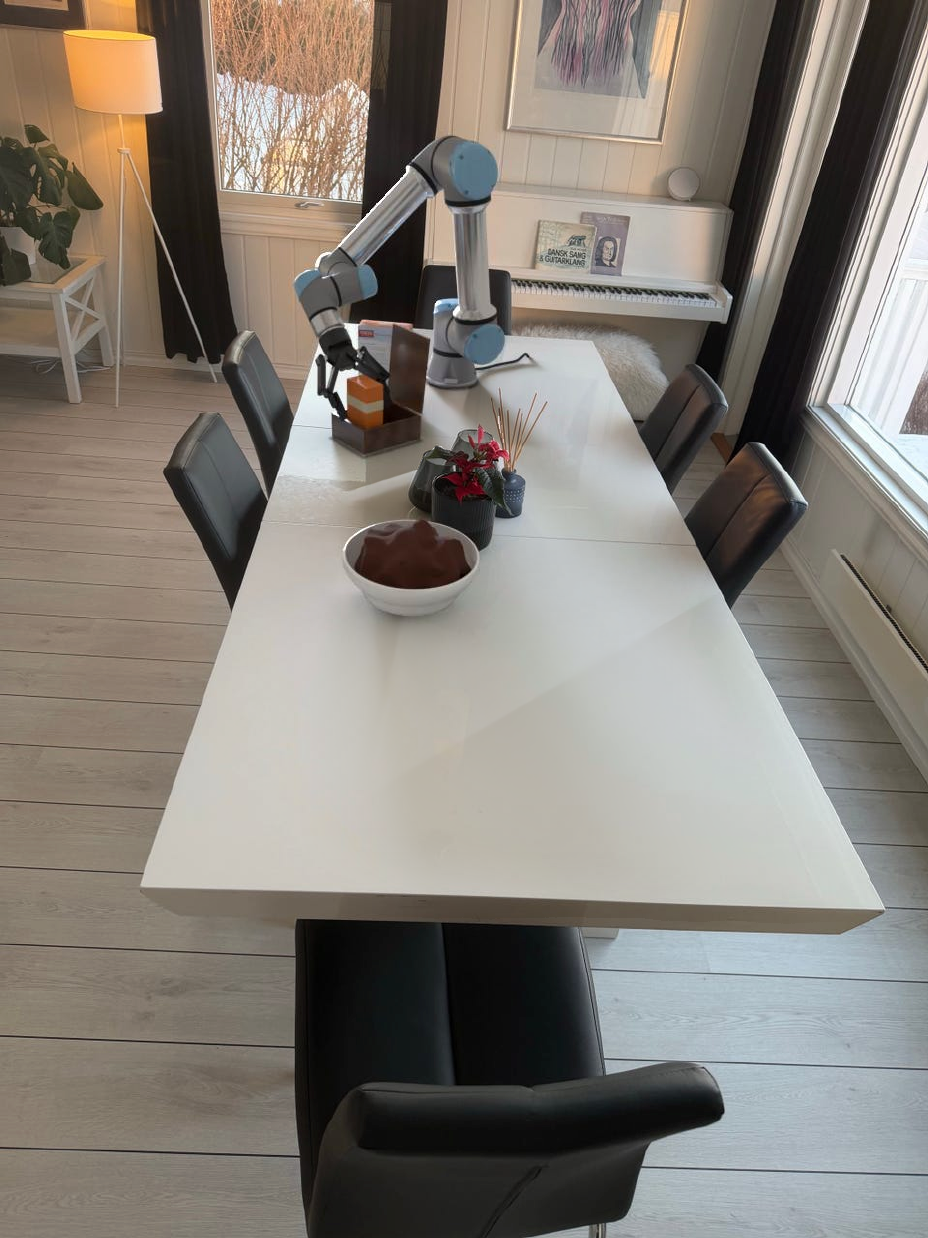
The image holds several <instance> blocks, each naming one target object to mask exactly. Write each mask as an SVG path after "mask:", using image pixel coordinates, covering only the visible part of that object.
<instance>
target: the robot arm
mask: <svg viewBox="0 0 928 1238" xmlns="http://www.w3.org/2000/svg"><path fill="white" fill-rule="evenodd" d="M498 177H499V168H498V163H497V160H496V158H495V156H494V153H492V152H491V150H489V148H487V147H486V146H484V145H483V144H481V143H480V142H477V141H475V140H468V139H466V138H463V137H460V136H457V135H452V134H450V135H449V134H448V135H443V136H441V137H439V138H436V139H435V140H433V141H432V142H431V143H429V144H428V145H427V146H426V147H425V148H424V149H422V151H420V152H419V153H418V154H417V155H416V156H415V157H414V159H412V160H411V162H409V164H408V165H407V166H406V173H405V174H404V175H403V177H401V178H400V180H399V181H398V182H397V183H396V184H395V185H394V186H393V187H392V188H391V189H390V190H389V191H388V192H387V193H386V194H385V196H384V197H383V198H382V199H381V200H380V201H379V202H378V203H376V205H375V206H374V207H373V208H372V209H371V210H370V212H369V213H367V214H366V216H365V217H364V218H363V219H362V220H361V221H360V222H359V223H358V224H357V225H356V227H355V228H354V229H353V230H352V231H351V232H350V233H349V234H348V235H347V236H346V237H345V238H344V239H343V240H342V242H341V243H339V244H338V246H337V247H336V248H335V249H334V250H333V251H332V252H325V253H322V254H321V255H320V256H318V258H317V259H316V261H315V264H314V265H315V266H314V269H308V270H305V271H303V272H302V273H299V274H298V275H297V276H296V278H294V281H293V289H294V291H295V293H296V295H297V300H298V302H299V303H300V305H301V307H302V309H303V311H304V313H305V316H306V318H307V320H308V321H309V325H310V326H311V329H312V331H313V333H314V335H315V338H316V339H317V340H318V345H319V347H320V348H321V351H322V353H323V354H322V353H319V354H318V355H317V356H316V358H315V360H314V361H315V364H316V367H317V368H316V369H317V370H316V371H317V372H316V373H317V374H316V375H317V377H316V378H317V379H316V380H317V381H316V383H317V386H316V387H317V392H316V393H317V394H316V395H317V396H319V397H321V396H323V398H324V399H326V400H327V401H328V403H329V405H330V406H331V407H330V408H332V409H333V410H334V409H335V412H336V411H337V414H338V416H339V418H340V420H341V422H343V421H344V420H345V419H346V418H347V417H348V414H347V412H346V410H345V409H346V408H345V405H344V404H343V401H342V400H341V397H340V395H339V392H338V391H334V390H335V386H336V383H337V381H338V380H337V379H338V376H339V372H341V373H342V372H344V371H351V370H354V371H357V372H358V371H359V372H360V373H362V374H363V375H365V376H367V377H369V378H371V379H373V380H375V381H377V382H379V383H381V384H383V403H384V406H385V408H386V410H389V409H390V408H391V407H392V406H393V405H394V404H393V402H392V400H391V397H390V395H389V394H390V390H389V388H388V386H387V383H386V380H387V379H388V378H389V377H390V374H389V373H388V372H387V371H386V370H385V369H384V368H383V367H382V366H381V365H380V364H379V363H378V362H377V361H376V360H375V359H374V358H373V357H372V356H371V354H370V353H369V352H368V350H367V349H366V347H365V346H362V347H361V348H359V349H358V348H357V349H356V348H355V347H354V346H353V340H352V338H351V336H350V333H349V332H348V330H347V328H345V327H346V325H345V323H344V320H343V319H342V316H341V315H340V312H339V310H338V308H341V307H344V306H347V305H350V304H353V303H357V302H360V301H363V300H366V299H369V298H371V297H374V296H375V295H376V294H377V293H378V288H379V287H378V280H377V278H376V277H377V276H376V275H375V272H374V270H373V268H372V267H371V266H370V265H368V264H366V262H367V261H368V260H369V259H370V258H371V257H372V256H373V255H374V254H375V253H376V252H377V251H378V250H379V249H380V248H381V247H382V246H383V245H384V244H385V243H386V242H387V240H388V239H389V238H391V236H392V235H393V234H394V233H395V232H396V231H397V230H398V229H399V228H400V227H401V226H402V225H403V224H404V223H405V222H406V220H408V219H409V217H411V215H412V214H413V213H414V212H415V211H417V209H418V208H419V207H420V206H421V205H422V204H423V203H424V202H425V201H426V200H427V199H434V198H435V196H436V195H437V194H438V193H439V192H441V191H442V190H443V199H444V205H445V207H447V209H449V211H450V212H451V222H452V223H451V224H452V225H451V226H452V238H453V250H454V252H453V253H454V264H455V275H456V287H457V288H456V289H457V298H444V299H443V298H442V299H439V300H437V301H436V303H435V304H434V308H433V309H434V310H433V330H432V331H433V332H432V353H431V355H430V359H429V361H428V367H427V376H426V383H428V384H430V385H432V386H435V387H438V388H443V389H448V390H449V389H450V390H459V389H467V388H470V387H471V388H472V387H473V386H475V385H476V383H477V381H478V373H477V371H484V370H490V369H493V368H496V367H501V366H506V365H512V364H515V363H518V362H520V361H521V360H522V359H523V358H524V357H526V358H530V357H531V356H530V354H528V353H527V352H523V353H522V354H521V355H520V356H519V357H518V358H516V359H513V360H508V361H502V362H498V363H494V364H490V363H492V362H494V361H495V360H496V359H498V357H499V355H501V354H502V351H503V350H504V347H505V343H506V336H505V333H504V331H503V329H502V327H501V326H500V325H498V315H497V308H496V307H495V306H494V305H493V304H492V303H491V290H490V270H489V250H488V247H489V246H488V230H487V212H486V211H487V210H486V209H487V207H488V206H489V205H490V203H491V202H492V193H493V191H494V187H495V186H497V182H498ZM360 358H361V359H360ZM327 363H328V364H329V365H330V366H331V368H330V373H329V378H328V381H327ZM487 364H488V365H487ZM475 365H478V366H479V367H476V366H475ZM484 365H486V366H484Z"/></svg>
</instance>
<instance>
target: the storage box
mask: <svg viewBox="0 0 928 1238" xmlns="http://www.w3.org/2000/svg"><path fill="white" fill-rule="evenodd" d="M392 402H393V404H394V405H393V406H392V407H391V408H390V409H389V410H386V408H385V406H384V403H383V425H380V426H376V427H373V428H369V429H365V430H364V429H363V428H361V427H359V426H357V425H356V424H354V423H352V422H350V421H349V420H347V418H346V419H345V420H344V421H343V422H341V420H340V418H339V416H338V414H337V411H336V410H335V411H333V412H331V415H330V416H331V436H332V437H334V438H335V439H337V440H338V441H340V442H342V443H344V444H345V445H347V446H348V447H350V448H352V449H354V450H355V451H357V452H359V453H360V454H361V455H364V456H366V455H368V454H371V453H376V452H378V451H382V450H386V449H389V448H393V447H395V446H399V445H403V444H406V443H410V442H413V441H417V440H420V439H421V432H422V431H421V430H422V414H419V413H417V412H415V411H413V410H411V409H409V408H408V407H406V406H404V405H400V404H398V403H396V402H394V401H392ZM345 410H346V412H347V408H345Z"/></svg>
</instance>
